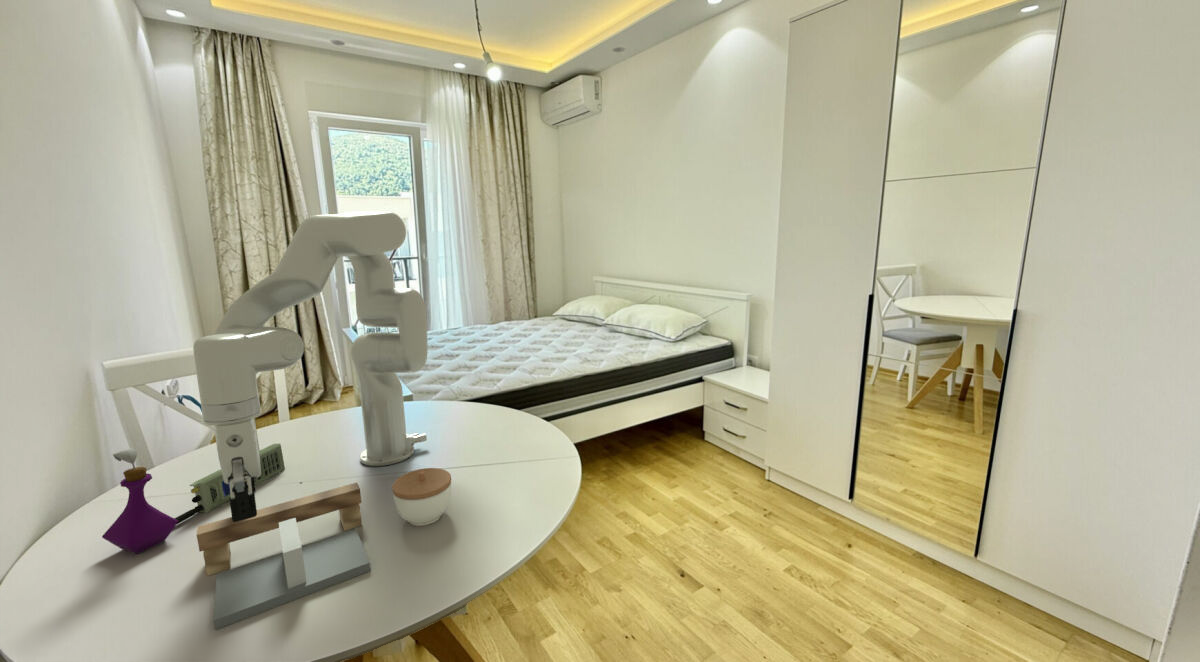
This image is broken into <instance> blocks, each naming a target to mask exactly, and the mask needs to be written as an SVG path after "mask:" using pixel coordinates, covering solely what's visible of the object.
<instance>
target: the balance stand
mask: <svg viewBox="0 0 1200 662" xmlns="http://www.w3.org/2000/svg"><path fill="white" fill-rule="evenodd" d="M278 529H279V536H280V544H281V549H282V551H281V552H280V553H276V554H273V555H270V556H266V557H263V558H260V559H257V560H255V561H251V562H249V563H245V564H242V565H239V566H236V567H234V568H230V569H227V570H224V571H220V572H217V573H216V579H215V580H216V583H215V593H214V594H215V596H214V608H213V609H214V610H213V611H214V612H213V624H214V630H215V631H216V630H219V629H222V628H224V627H226V626H229V625H231V624H234V623H237V622H240V621H242V620H245V619H247V618H251V617H253V616H256V615H258V614H261V613H263V612H266V611H268V610H272V609H274V608H276V607H279V606H282V605H284V604H287V603H289V602H293V601H295V600H297V599H300V598H302V597H305V596H308V595H311V594H313V593H316V592H319V591H322V590H324V589H327V588H329V587H331V586H334V585H336V584H339V583H343V582H344V581H347V580H350V579H352V578H355V577H358V576H361V575H363V574H366V573H369V572H371V563H370V559H369V557H368V555H367V553H366V550H365V547H364V545H363V543H362V540H361V538H360V535H359V534H358V531H357V527H355V528H352V529H349V530H346V531H344V532H339V533H337V534H335V535H331V536H327V537H324V538H322V539H319V540H316V541H312V542H310V543H306V544H304V545H302V543H301V537H300V532H299V528H298V522H296V518H292V519H289V520H286V521H282V522H279V528H278Z"/></svg>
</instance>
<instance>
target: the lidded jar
mask: <svg viewBox="0 0 1200 662" xmlns="http://www.w3.org/2000/svg"><path fill="white" fill-rule="evenodd" d="M391 491H392V494H393V500H394V505H395V507H396V510H397V512H398V514H399V516H400V517H401V518H402V519H404V520H405V521H407V522H409V524H411V526H415V527H416V526H417V527H421V526H422V527H423V526H427V525H431V524H433V523H435V522H437V521H438V520H440V518H441V517H442V515H443V514H444V513H445V512H446V510H447V508H448V507H449V505H450V501H451V498H452V497H451V496H452V475H451V473H450V472H449V471H448V470H446V469H443V468H438V467H428V468H427V467H425V468H420V469H419V468H418V469H415V470H412V471H411V470H410V471H409V472H407V473H405V474H402V475H401V476H399V477H398V478H396V479H395V480H394V482H393V483H392V486H391ZM440 516H441V517H440ZM437 519H438V520H437ZM436 520H437V521H436ZM430 523H431V524H430Z"/></svg>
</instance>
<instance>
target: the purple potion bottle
mask: <svg viewBox="0 0 1200 662" xmlns="http://www.w3.org/2000/svg"><path fill="white" fill-rule="evenodd" d="M112 456H113V457H114V459H115V460H116V461H118V462H121V461H123V462H126V463H129V464H131V465H132V468H128V469H127V470H126V469H125V470H124V471H123V472H122V474H123V476H124V479H122V480H121V481H120V482H119V483H120V487H123V488H126V489H128V499H127V502H126V505H125V508H124V509H123V511H122V512H121V513H120V514H119V516H118V517H117V519H116V520H115V521H114V522H113V523H112V525H110V527H108V529H107V530H106V531H105V532H104V533H103V534H102V536H101V537H102V539H104V540H105V541H107V542H109V543H110V544H112V545H114V546H115V547H118V548H119V549H121V550H123V551H125V552H129V553H132V554H136V555H138V554H141V553H143V552H146V551H147V550H149V549H151V548H153V547H155V546H157V545H159V544H162V543H163V542H165V541H166V539H168V537H169V535H170V534H171V533H172V532H173V530H174V529H175V527H176V524H177V523H178V520H176V519H174V518H175V517H172V516H170V515H169V514H166V513H164V512H162V511H160V510H159V509H157V508H156V507H155V506H152V505H151V504H149V502H148V501H147V499H146V497H145V490H144V489H145V486H146V485H147V483H148V482H150V481H151V480H152V479H153V476H152V474H151V473H147V467H145V466H139V467H138V466H137V467H136V466H135V461H136V460H137V457H138V453H137V450H136V449H135V448H129V449H124V450H121V451H118V452H115V453H113V454H112ZM177 525H178V524H177Z"/></svg>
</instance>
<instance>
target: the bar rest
mask: <svg viewBox="0 0 1200 662" xmlns="http://www.w3.org/2000/svg"><path fill="white" fill-rule="evenodd" d="M338 512H339V513H338V514H339V520H340V523H341V525H342V527H343V531H344V532H346V531H349V530H352V529H355V528H358V527H361V526H363V524H362V523H363V521H362V514H361V513H362V512H361V505H360V504H357V505H353V506H350V507H347V508H343V509H340V510H338ZM202 553H203V560H204V566H205V571H206V575H207V576H212V575H214V574H218V573H221V572H224V571H227V570H230V569H231V567H232V566H231V562H232V561H231V559H232V551H231V546H230V543H227V544H224V545H221V546H217V547H214V548H211V549H207V550H204V551H202Z"/></svg>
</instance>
